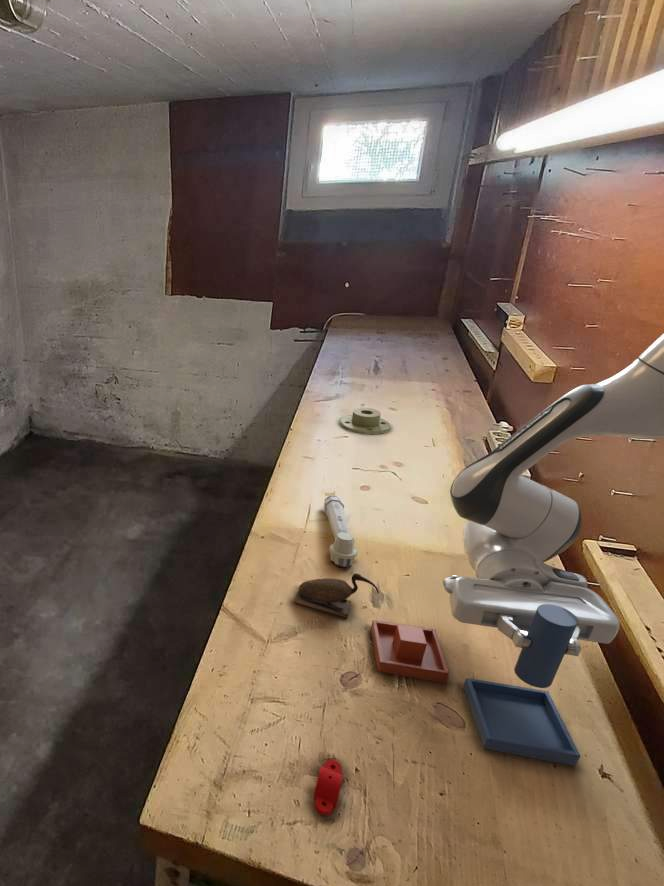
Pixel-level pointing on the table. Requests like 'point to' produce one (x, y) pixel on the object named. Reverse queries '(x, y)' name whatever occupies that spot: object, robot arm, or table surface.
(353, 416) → the flange
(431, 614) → the table surface
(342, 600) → the figurine
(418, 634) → the terracotta block
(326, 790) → the pipe clamp
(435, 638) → the terracotta tray
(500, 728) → the blue tray
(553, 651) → the blue canister
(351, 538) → the light grey long piece
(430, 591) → the table surface
